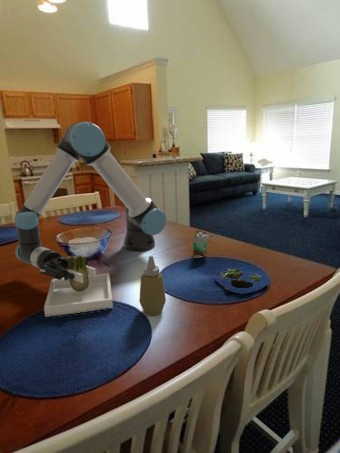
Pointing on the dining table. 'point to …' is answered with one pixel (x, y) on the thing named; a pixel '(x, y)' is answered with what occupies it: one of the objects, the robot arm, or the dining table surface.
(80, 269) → the fennel bulb
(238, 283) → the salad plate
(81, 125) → the robot arm
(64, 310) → the bin
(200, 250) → the food container
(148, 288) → the squeeze bottle
